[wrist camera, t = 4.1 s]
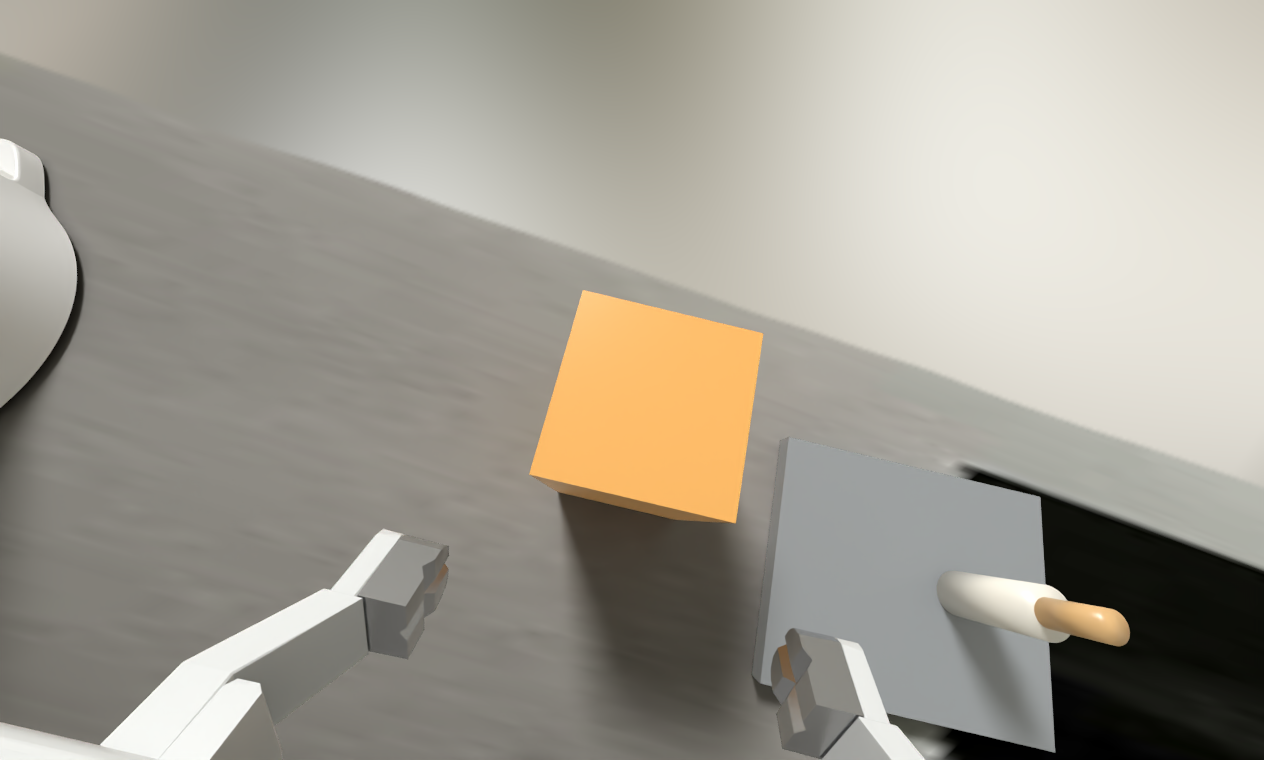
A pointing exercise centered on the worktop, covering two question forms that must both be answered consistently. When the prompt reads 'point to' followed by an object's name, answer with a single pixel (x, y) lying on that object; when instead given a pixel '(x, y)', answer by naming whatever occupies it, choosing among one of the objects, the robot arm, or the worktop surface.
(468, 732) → the worktop surface
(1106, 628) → the tan-tipped white capsule
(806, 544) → the plate
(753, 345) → the orange rectangular block
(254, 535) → the worktop surface
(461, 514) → the worktop surface
